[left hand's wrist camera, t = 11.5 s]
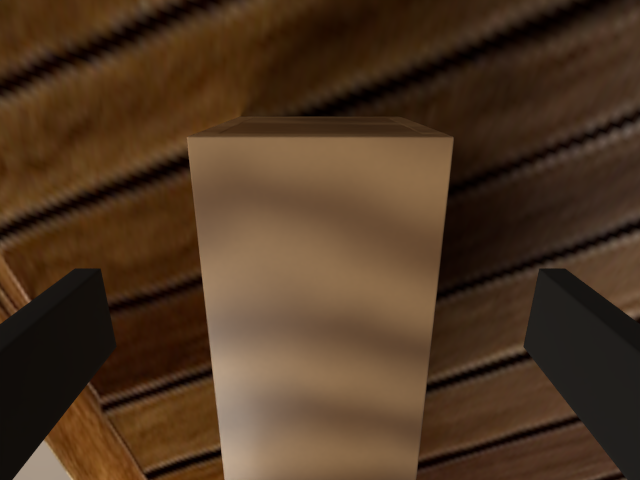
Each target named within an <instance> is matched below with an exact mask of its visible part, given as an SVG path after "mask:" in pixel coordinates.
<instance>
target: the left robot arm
mask: <svg viewBox="0 0 640 480" xmlns="http://www.w3.org/2000/svg"><path fill="white" fill-rule="evenodd" d="M115 348H116V342H115V337H114V332H113V327H112V322H111V317H110V312H109V307H108V303H107V298H106V293H105V288H104V283H103V278H102V273H101V269H74V270H72V271H71V272H70V273H68V274H67V275H66V276H64V277H63V278H62V279H60V280H59V281H58V282H56V283H55V284H54V285H52V286H51V287H50V288H48V289H47V290H46V291H44V292H43V293H42V294H40V295H39V296H37V297H36V298H35V299H33V300H32V301H31V302H29V303H28V304H27V305H25V306H24V307H23V308H21V309H20V310H19V311H17V312H16V313H15V314H13V315H12V316H11V317H9V318H8V319H7V320H5V321H4V322H3V323H1V324H0V480H13V478H14V477H15V476H16V474H17V473H18V472H19V471H20V469H21V468H22V467H23V466H24V464H25V463H26V462H27V460H28V459H29V458H30V457H31V455H32V454H33V453H34V451H35V450H36V449H37V448H38V446H39V445H40V444H41V443H42V441H43V440H44V439H45V437H46V436H47V435H48V434H49V432H50V431H51V430H52V428H53V427H54V426H55V425H56V423H57V422H58V421H59V420H60V418H61V417H62V416H63V414H64V413H65V412H66V411H67V409H68V408H69V407H70V405H71V404H72V403H73V402H74V400H75V399H76V398H77V397H78V395H79V394H80V393H81V391H82V390H83V389H84V388H85V386H86V385H87V384H88V382H89V381H90V380H91V379H92V377H93V376H94V375H95V374H96V372H97V371H98V370H99V368H100V367H101V366H102V365H103V363H104V362H105V361H106V359H107V358H108V357H109V356H110V354H111V353H112V352H113V350H114V349H115ZM524 348H525V349H526V350H527V352H528V353H529V354H530V356H531V357H532V358H533V359H534V361H535V362H536V363H537V365H538V366H539V367H540V368H541V370H542V371H543V372H544V374H545V375H546V376H547V377H548V379H549V380H550V381H551V382H552V384H553V385H554V386H555V388H556V389H557V390H558V391H559V393H560V394H561V395H562V397H563V398H564V399H565V400H566V402H567V403H568V404H569V405H570V407H571V408H572V409H573V411H574V412H575V413H576V414H577V416H578V417H579V418H580V420H581V421H582V422H583V423H584V425H585V426H586V427H587V428H588V430H589V431H590V432H591V434H592V435H593V436H594V437H595V439H596V440H597V441H598V443H599V444H600V445H601V446H602V448H603V449H604V450H605V451H606V453H607V454H608V455H609V457H610V458H611V459H612V460H613V462H614V463H615V464H616V466H617V467H618V468H619V469H620V471H621V472H622V473H623V475H624V476H625V477H626V478H627V480H640V324H639V323H637V322H636V321H635V320H633V319H632V318H631V317H629V316H628V315H627V314H625V313H624V312H623V311H621V310H620V309H619V308H617V307H616V306H615V305H613V304H612V303H611V302H609V301H608V300H607V299H605V298H604V297H603V296H601V295H600V294H598V293H597V292H596V291H594V290H593V289H592V288H590V287H589V286H588V285H586V284H585V283H584V282H582V281H581V280H580V279H578V278H577V277H576V276H574V275H573V274H572V273H570V272H569V271H568V270H566V269H539V273H538V278H537V283H536V288H535V293H534V298H533V303H532V307H531V312H530V317H529V322H528V327H527V332H526V337H525V342H524Z"/></svg>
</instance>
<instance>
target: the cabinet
mask: <svg viewBox="0 0 640 480" xmlns="http://www.w3.org/2000/svg"><path fill="white" fill-rule="evenodd" d="M187 143H188V152H189V162H190V171H191V180H192V189H193V198H194V207H195V216H196V225H197V234H198V243H199V252H200V261H201V270H202V279H203V289H204V298H205V307H206V316H207V325H208V334H209V343H210V352H211V361H212V370H213V379H214V388H215V397H216V407H217V416H218V425H219V434H220V443H221V452H222V461H223V470H224V479H225V480H416V475H417V466H418V457H419V448H420V439H421V430H422V421H423V412H424V403H425V394H426V385H427V376H428V367H429V358H430V349H431V340H432V331H433V322H434V314H435V305H436V296H437V287H438V278H439V269H440V260H441V251H442V242H443V233H444V224H445V215H446V206H447V197H448V188H449V179H450V170H451V161H452V152H453V143H454V137H453V136H450V135H447V134H445V133H442V132H440V131H437V130H434V129H432V128H429V127H427V126H424V125H421V124H419V123H416V122H413V121H411V120H408V119H405V118H403V117H238V118H235V119H233V120H230V121H228V122H225V123H222V124H220V125H217V126H215V127H212V128H209V129H207V130H204V131H202V132H199V133H196V134H193V135H191V136H188V137H187Z"/></svg>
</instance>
